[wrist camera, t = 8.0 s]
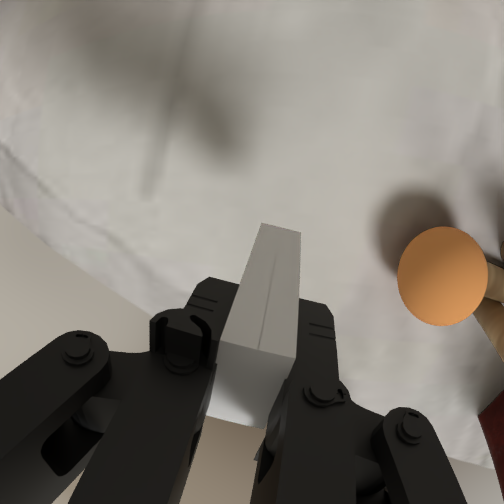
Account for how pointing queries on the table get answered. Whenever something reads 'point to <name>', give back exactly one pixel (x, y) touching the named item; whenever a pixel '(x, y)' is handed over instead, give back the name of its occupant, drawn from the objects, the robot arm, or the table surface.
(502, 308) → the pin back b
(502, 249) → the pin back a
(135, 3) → the table surface
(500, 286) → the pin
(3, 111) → the table surface
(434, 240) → the ball
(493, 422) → the vintage gas pump
